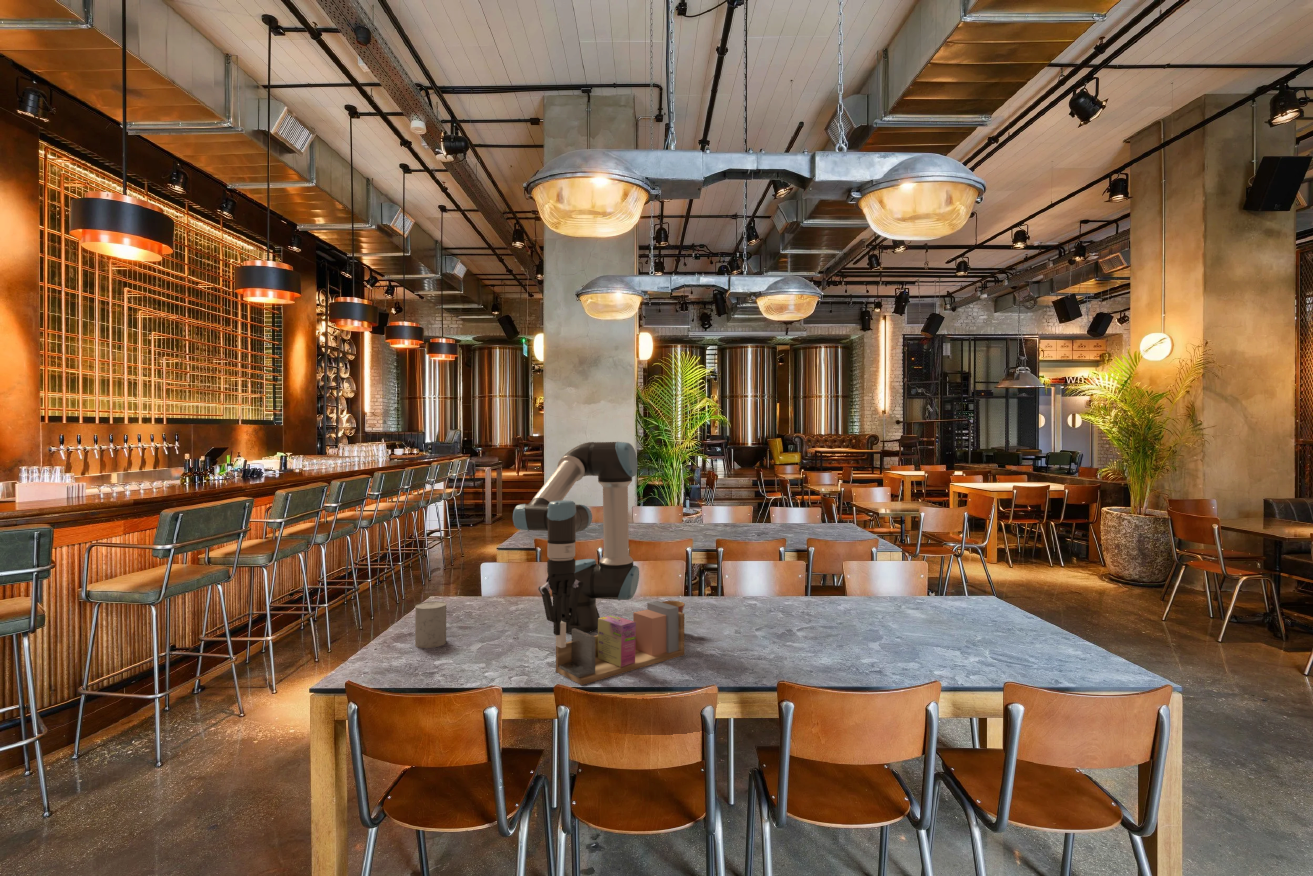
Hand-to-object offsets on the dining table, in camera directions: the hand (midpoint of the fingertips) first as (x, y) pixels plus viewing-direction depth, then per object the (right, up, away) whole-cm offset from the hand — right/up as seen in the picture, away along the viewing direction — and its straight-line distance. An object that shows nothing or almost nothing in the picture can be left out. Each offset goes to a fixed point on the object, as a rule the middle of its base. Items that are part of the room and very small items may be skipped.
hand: (560, 646), depth 168 cm
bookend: (+4, -8, +3) cm, 9 cm away
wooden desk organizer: (+16, -10, +14) cm, 23 cm away
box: (+14, -8, +12) cm, 20 cm away
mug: (+31, -10, +40) cm, 51 cm away
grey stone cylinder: (-47, -10, +33) cm, 58 cm away
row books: (+26, -8, +22) cm, 34 cm away
